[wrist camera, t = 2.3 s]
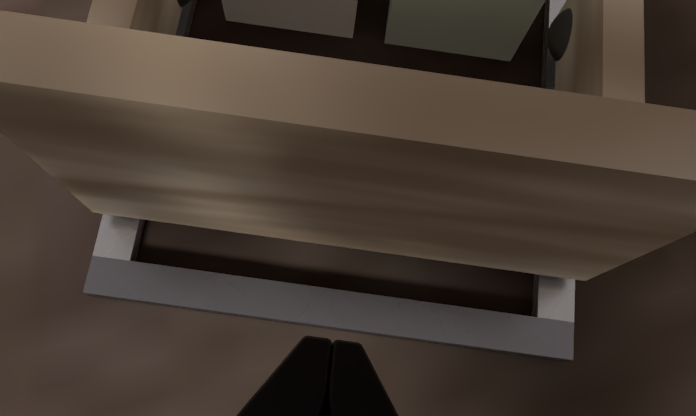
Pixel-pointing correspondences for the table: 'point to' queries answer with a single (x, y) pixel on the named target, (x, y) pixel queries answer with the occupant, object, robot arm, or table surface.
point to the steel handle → (331, 304)
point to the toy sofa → (358, 140)
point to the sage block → (462, 25)
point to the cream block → (296, 15)
